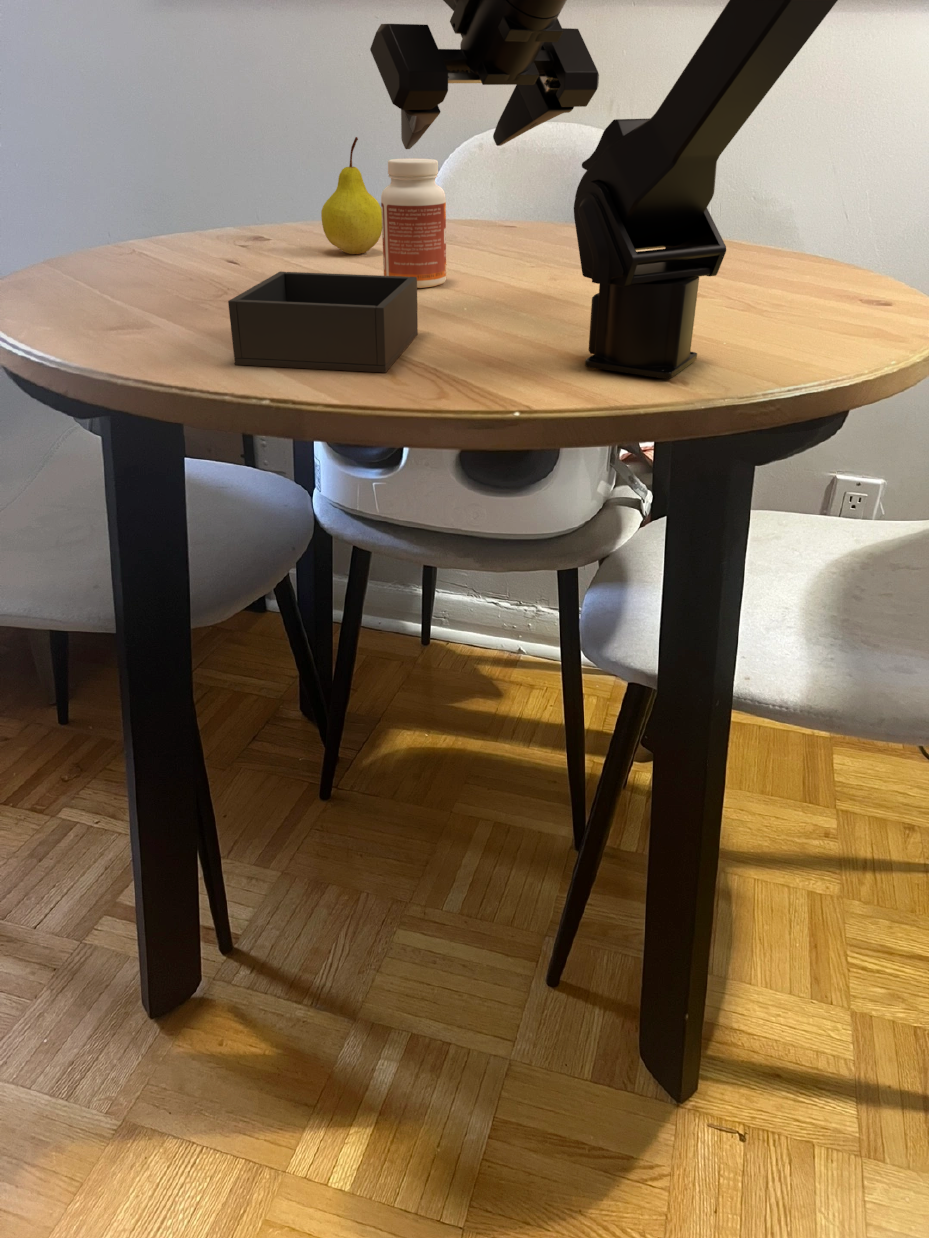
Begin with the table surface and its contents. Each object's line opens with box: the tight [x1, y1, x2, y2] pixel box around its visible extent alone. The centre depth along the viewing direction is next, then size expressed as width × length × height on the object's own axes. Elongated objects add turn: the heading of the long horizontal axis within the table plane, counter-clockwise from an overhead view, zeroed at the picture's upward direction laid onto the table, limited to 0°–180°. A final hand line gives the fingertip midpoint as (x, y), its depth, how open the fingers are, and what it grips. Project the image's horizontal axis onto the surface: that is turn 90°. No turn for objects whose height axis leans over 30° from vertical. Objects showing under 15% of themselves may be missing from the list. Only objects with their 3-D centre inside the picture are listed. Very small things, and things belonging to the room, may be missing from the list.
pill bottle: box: [380, 157, 447, 289], centre depth 95 cm, size 6×6×11 cm
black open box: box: [227, 271, 419, 374], centre depth 74 cm, size 11×11×4 cm
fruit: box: [320, 136, 382, 255], centre depth 110 cm, size 7×7×12 cm
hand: (451, 143), depth 86 cm, fingers open, 9 cm apart
